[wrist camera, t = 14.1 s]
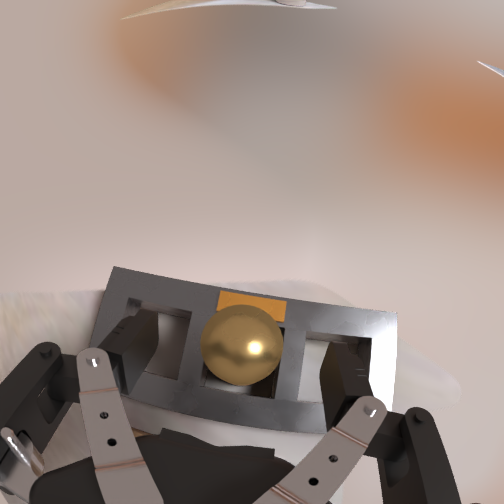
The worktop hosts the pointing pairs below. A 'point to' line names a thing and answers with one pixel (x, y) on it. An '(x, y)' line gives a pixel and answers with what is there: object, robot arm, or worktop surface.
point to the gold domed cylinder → (241, 344)
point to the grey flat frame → (286, 373)
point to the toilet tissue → (293, 2)
